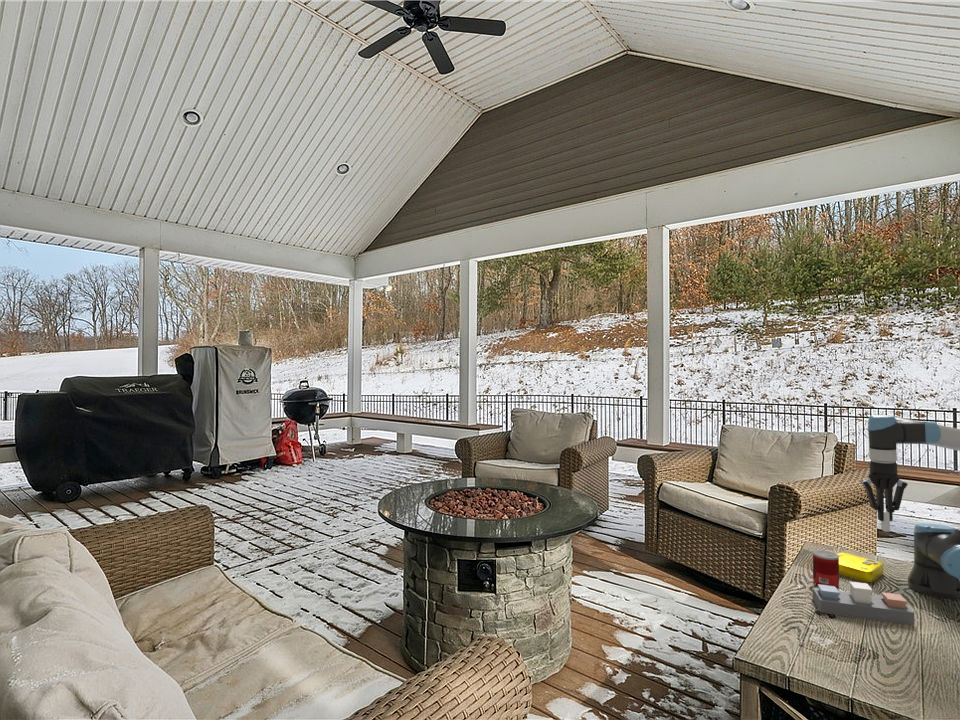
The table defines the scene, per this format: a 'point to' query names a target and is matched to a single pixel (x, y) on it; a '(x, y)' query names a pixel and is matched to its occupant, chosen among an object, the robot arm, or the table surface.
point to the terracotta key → (894, 600)
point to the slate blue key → (828, 592)
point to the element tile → (859, 567)
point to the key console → (863, 608)
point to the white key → (860, 592)
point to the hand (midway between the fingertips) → (885, 530)
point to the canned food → (826, 568)
